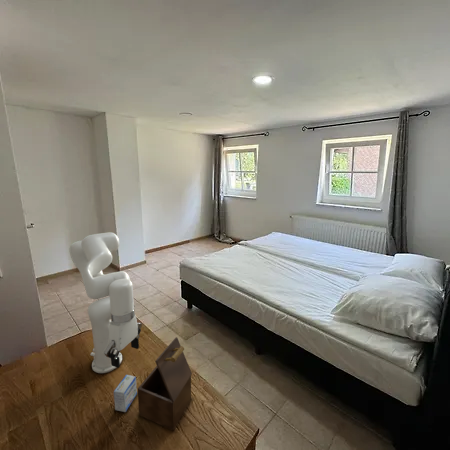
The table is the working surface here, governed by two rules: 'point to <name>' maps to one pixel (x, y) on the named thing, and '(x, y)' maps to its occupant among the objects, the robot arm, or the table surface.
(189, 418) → the table surface
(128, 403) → the medicine box
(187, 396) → the chest
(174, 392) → the lid
